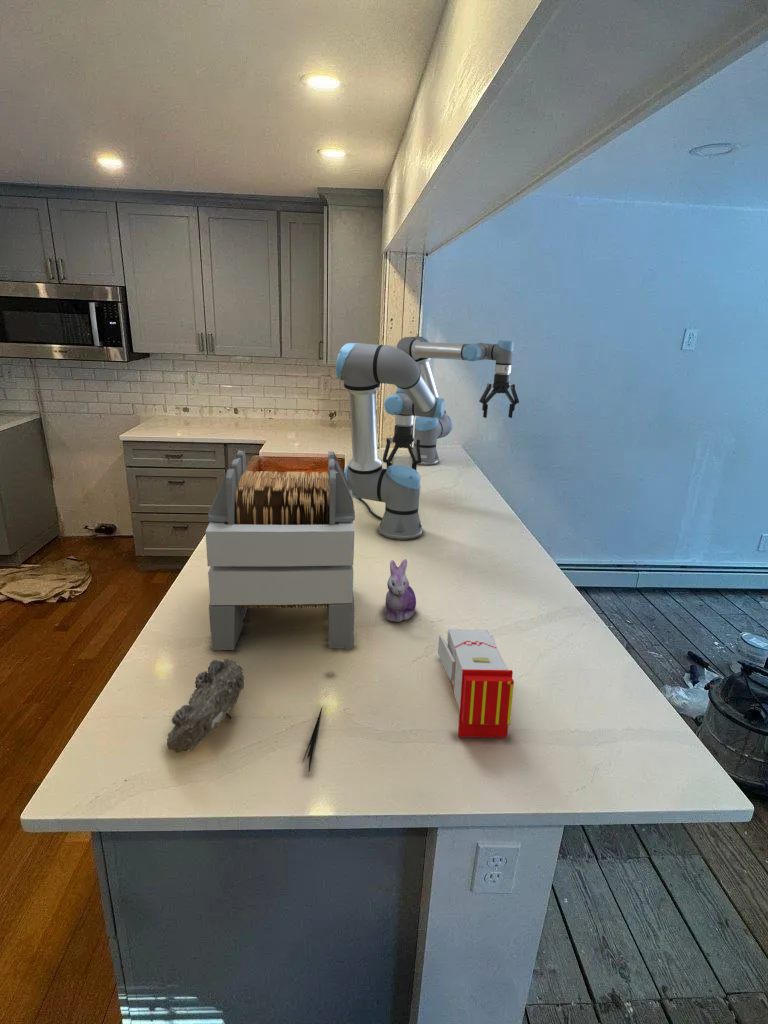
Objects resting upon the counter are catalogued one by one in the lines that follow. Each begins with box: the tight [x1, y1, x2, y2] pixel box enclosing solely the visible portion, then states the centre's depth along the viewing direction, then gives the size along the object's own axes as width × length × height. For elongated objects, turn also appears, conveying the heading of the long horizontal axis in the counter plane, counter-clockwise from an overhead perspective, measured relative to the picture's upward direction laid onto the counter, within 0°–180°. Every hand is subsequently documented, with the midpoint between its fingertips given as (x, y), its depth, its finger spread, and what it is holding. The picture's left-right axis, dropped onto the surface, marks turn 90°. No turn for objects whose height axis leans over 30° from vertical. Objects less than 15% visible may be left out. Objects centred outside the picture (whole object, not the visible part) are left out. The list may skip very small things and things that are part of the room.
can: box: [390, 454, 412, 468], centre depth 235 cm, size 8×8×12 cm
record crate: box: [204, 449, 356, 652], centre depth 138 cm, size 34×33×41 cm
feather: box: [301, 673, 332, 771], centre depth 108 cm, size 2×28×2 cm
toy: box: [437, 628, 515, 738], centre depth 117 cm, size 12×13×30 cm
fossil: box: [166, 658, 245, 754], centre depth 106 cm, size 22×10×15 cm
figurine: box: [384, 558, 417, 623], centre depth 145 cm, size 9×10×15 cm
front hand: (400, 478), depth 235 cm, fingers closed on can, 9 cm apart
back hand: (497, 417), depth 282 cm, fingers open, 13 cm apart
